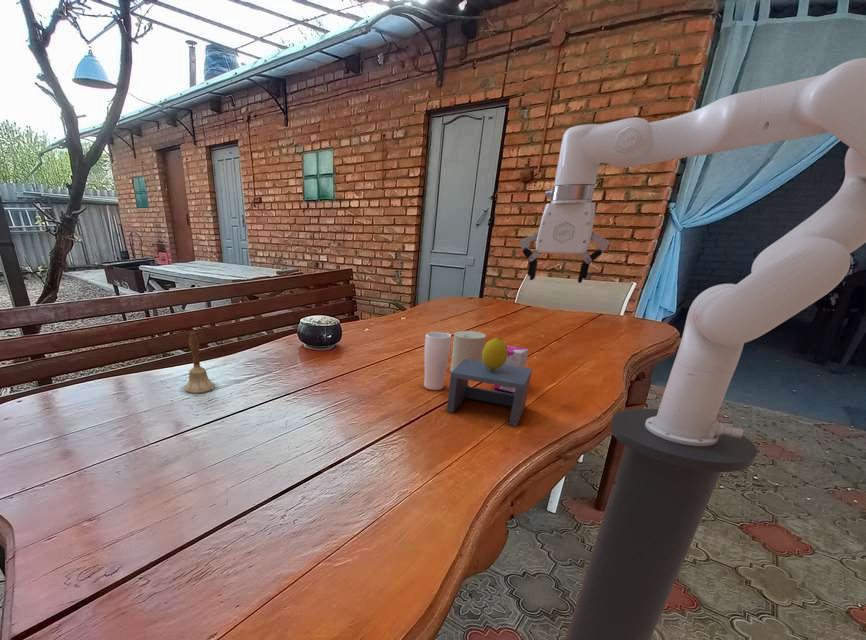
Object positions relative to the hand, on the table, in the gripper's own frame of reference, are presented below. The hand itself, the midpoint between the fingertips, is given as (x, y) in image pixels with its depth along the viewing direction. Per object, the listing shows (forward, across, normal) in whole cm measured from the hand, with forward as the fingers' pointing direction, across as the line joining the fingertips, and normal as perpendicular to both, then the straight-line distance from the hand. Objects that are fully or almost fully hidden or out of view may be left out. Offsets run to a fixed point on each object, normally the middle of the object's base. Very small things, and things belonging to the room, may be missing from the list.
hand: (555, 280), depth 95 cm
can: (+31, -21, +17) cm, 41 cm away
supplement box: (+31, -7, +8) cm, 32 cm away
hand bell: (+31, -82, -34) cm, 94 cm away
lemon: (+20, -9, -9) cm, 24 cm away
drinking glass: (+31, -25, -1) cm, 39 cm away
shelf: (+30, -9, -9) cm, 33 cm away
